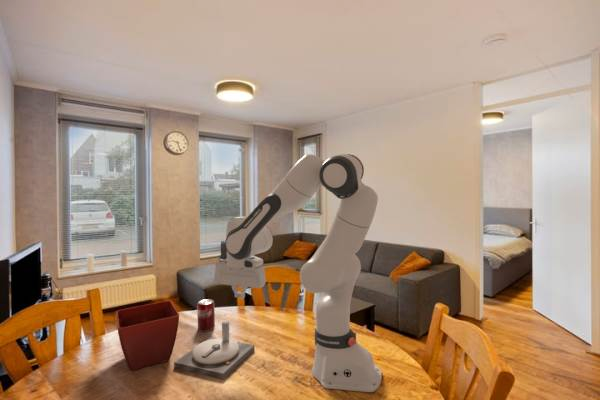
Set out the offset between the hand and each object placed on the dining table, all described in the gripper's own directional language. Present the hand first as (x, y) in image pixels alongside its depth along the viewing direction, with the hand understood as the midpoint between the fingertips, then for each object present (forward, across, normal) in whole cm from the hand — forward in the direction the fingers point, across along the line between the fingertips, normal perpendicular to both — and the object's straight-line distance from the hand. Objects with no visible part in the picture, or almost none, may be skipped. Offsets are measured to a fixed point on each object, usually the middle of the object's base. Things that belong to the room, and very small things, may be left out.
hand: (239, 297), depth 115 cm
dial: (+19, -7, -6) cm, 21 cm away
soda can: (+21, -26, +14) cm, 37 cm away
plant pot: (+21, -31, -14) cm, 40 cm away
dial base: (+21, -7, -6) cm, 23 cm away
